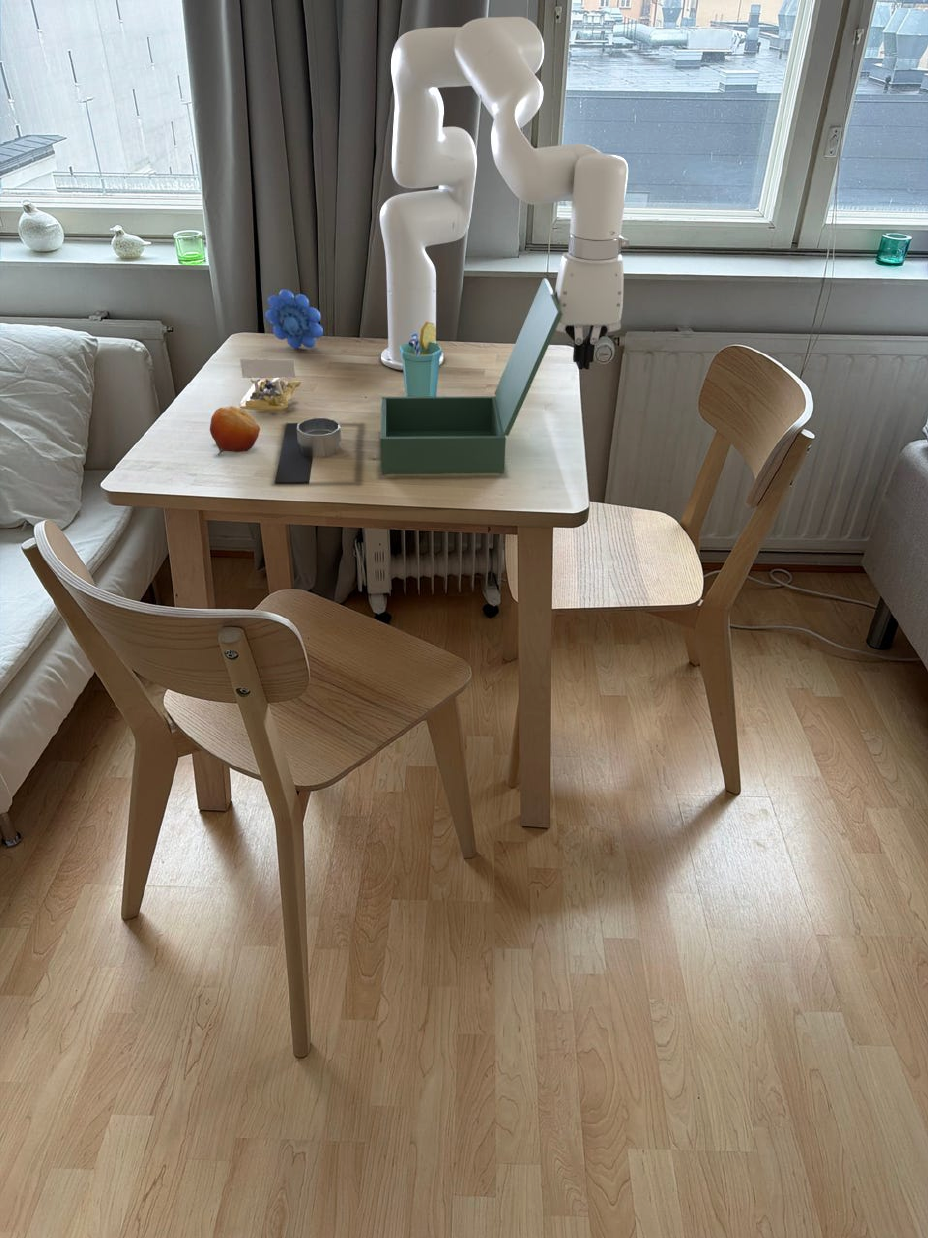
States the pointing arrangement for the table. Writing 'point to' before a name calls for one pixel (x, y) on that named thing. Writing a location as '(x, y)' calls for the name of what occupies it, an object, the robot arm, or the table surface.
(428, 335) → the cup
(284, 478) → the mat
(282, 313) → the blue flower
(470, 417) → the open green box
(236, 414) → the fruit
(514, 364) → the lid
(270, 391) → the cake
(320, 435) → the bowl
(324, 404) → the table surface
